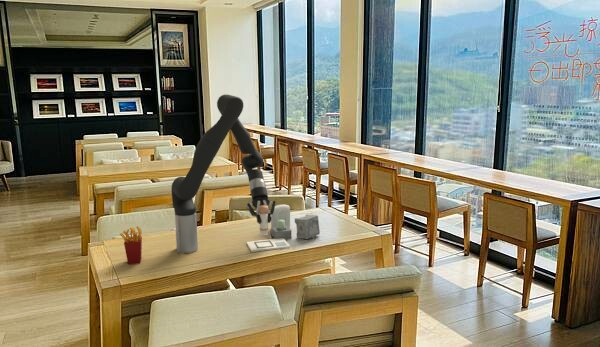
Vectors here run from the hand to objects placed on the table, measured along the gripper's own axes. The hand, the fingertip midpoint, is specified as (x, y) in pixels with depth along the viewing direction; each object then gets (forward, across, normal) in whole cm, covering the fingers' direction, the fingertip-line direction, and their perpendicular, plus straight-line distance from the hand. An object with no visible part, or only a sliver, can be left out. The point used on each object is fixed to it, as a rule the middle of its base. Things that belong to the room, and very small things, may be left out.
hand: (264, 222), depth 212 cm
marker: (+3, 0, +6) cm, 6 cm away
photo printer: (-8, +14, +26) cm, 30 cm away
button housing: (0, +11, +17) cm, 20 cm away
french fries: (+7, -57, +10) cm, 58 cm away
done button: (-1, +11, +16) cm, 19 cm away
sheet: (+7, +2, +10) cm, 12 cm away
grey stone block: (+3, +23, +14) cm, 27 cm away
